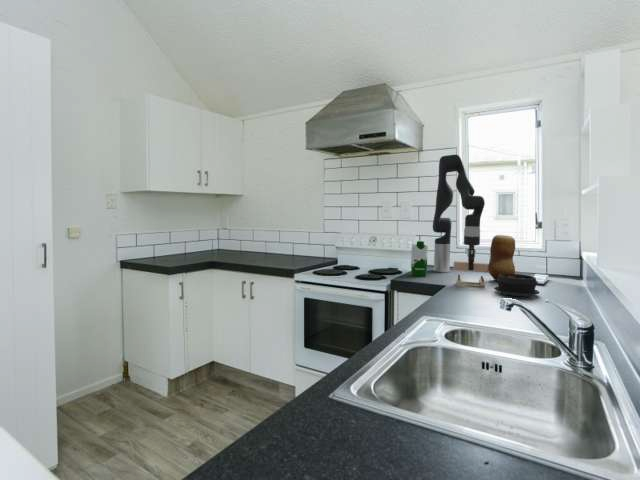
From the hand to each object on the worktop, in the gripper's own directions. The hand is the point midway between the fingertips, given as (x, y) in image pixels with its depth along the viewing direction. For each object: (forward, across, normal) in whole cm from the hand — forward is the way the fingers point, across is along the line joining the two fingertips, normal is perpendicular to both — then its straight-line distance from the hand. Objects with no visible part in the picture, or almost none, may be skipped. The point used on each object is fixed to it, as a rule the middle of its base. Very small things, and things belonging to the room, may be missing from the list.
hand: (470, 269), depth 200 cm
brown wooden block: (+1, 0, 0) cm, 1 cm away
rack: (+8, 0, 0) cm, 8 cm away
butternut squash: (+9, -19, +16) cm, 26 cm away
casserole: (+9, +15, +19) cm, 26 cm away
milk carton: (+9, -21, -27) cm, 35 cm away
